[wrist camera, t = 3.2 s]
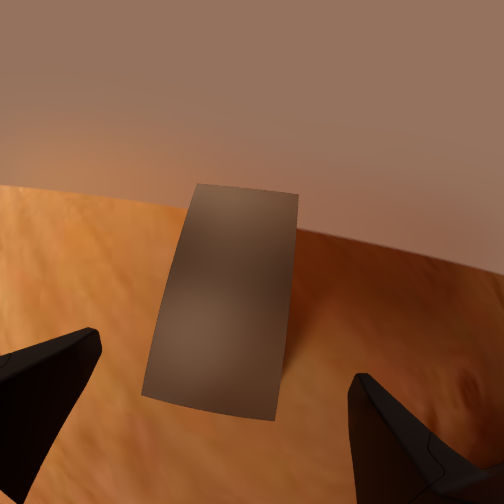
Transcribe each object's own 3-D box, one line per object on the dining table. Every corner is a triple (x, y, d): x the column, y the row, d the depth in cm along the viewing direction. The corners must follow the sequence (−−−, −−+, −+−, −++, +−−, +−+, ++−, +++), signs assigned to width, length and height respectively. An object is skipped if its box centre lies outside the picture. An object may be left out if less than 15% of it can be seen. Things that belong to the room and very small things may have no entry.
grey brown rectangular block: (263, 406, 15) (278, 421, 7) (193, 395, 15) (138, 394, 7) (280, 283, 19) (301, 195, 11) (216, 274, 19) (194, 183, 11)
